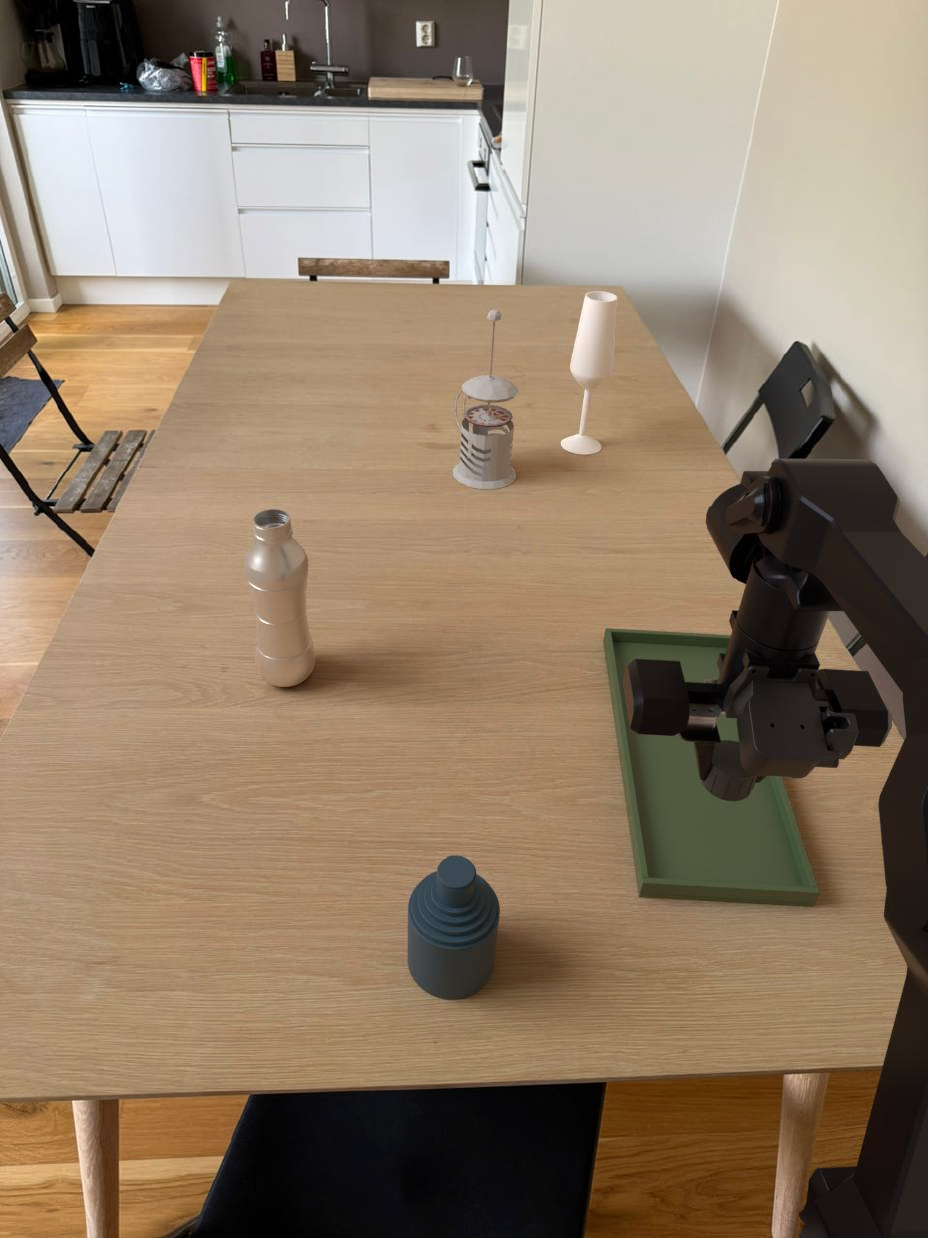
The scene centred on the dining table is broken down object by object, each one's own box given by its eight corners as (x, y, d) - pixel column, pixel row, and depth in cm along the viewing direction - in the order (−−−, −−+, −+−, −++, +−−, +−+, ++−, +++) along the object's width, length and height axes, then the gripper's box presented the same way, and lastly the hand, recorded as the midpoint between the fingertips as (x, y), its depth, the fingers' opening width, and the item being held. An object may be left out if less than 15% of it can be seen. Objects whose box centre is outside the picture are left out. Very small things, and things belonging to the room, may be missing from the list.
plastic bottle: (248, 690, 96) (226, 532, 83) (269, 651, 101) (251, 497, 89) (306, 699, 95) (292, 541, 83) (324, 658, 100) (314, 505, 88)
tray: (813, 906, 77) (820, 893, 76) (638, 896, 77) (642, 883, 76) (731, 648, 105) (735, 635, 104) (603, 641, 105) (605, 627, 104)
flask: (507, 984, 70) (518, 897, 63) (422, 1011, 68) (425, 924, 61) (476, 911, 75) (484, 823, 68) (397, 933, 73) (396, 845, 66)
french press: (480, 495, 131) (490, 327, 115) (432, 464, 138) (436, 302, 122) (529, 477, 136) (545, 313, 120) (481, 448, 143) (490, 290, 127)
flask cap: (698, 761, 74) (705, 737, 72) (748, 766, 73) (756, 743, 72) (703, 798, 70) (710, 774, 69) (755, 804, 70) (764, 780, 68)
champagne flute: (555, 449, 144) (572, 298, 129) (567, 432, 149) (585, 286, 134) (595, 458, 142) (617, 306, 127) (606, 441, 147) (629, 293, 132)
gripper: (661, 697, 56) (622, 853, 65) (959, 713, 56) (877, 867, 65) (639, 592, 64) (608, 743, 74) (896, 605, 64) (832, 755, 74)
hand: (727, 777), depth 71 cm, fingers closed on flask cap, 4 cm apart
